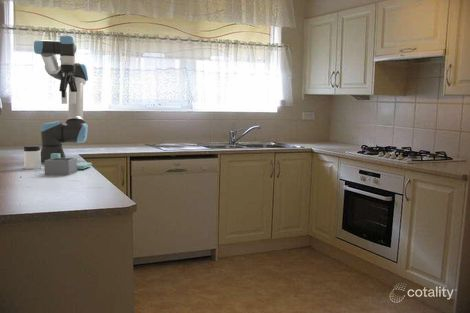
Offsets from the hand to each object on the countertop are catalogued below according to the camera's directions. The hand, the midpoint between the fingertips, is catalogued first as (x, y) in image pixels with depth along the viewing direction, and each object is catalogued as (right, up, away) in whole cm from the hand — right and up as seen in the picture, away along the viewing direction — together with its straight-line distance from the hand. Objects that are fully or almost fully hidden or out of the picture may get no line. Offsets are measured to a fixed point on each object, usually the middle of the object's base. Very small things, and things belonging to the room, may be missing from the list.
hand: (68, 103), depth 274 cm
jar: (-18, -35, -4) cm, 40 cm away
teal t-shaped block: (+2, -36, -4) cm, 36 cm away
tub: (+3, -37, -21) cm, 43 cm away
